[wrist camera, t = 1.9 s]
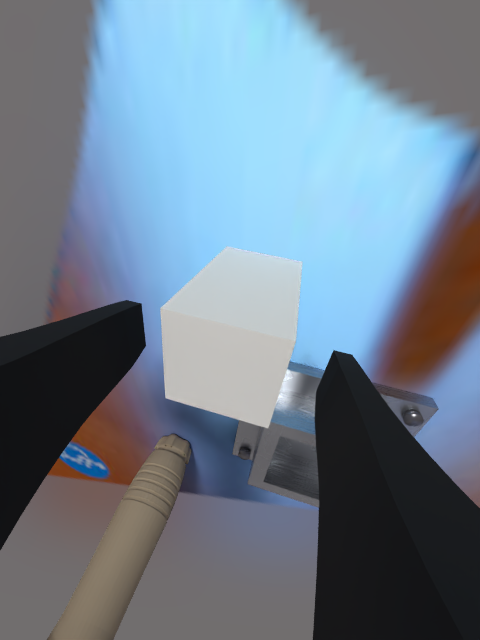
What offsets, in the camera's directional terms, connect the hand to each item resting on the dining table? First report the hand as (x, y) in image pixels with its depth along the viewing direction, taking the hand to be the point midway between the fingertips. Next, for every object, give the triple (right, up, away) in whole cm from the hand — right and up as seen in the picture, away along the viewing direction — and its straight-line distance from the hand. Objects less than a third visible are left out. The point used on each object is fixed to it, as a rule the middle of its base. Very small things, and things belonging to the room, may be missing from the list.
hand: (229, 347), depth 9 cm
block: (+1, +3, +5) cm, 6 cm away
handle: (-6, -11, +15) cm, 20 cm away
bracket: (+6, -7, +9) cm, 13 cm away
